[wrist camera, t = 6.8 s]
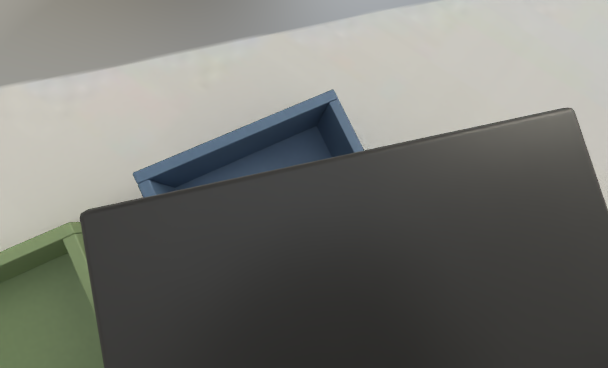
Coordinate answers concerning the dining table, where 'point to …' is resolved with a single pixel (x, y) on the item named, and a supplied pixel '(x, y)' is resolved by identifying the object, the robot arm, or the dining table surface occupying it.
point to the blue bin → (258, 147)
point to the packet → (367, 260)
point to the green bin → (48, 303)
